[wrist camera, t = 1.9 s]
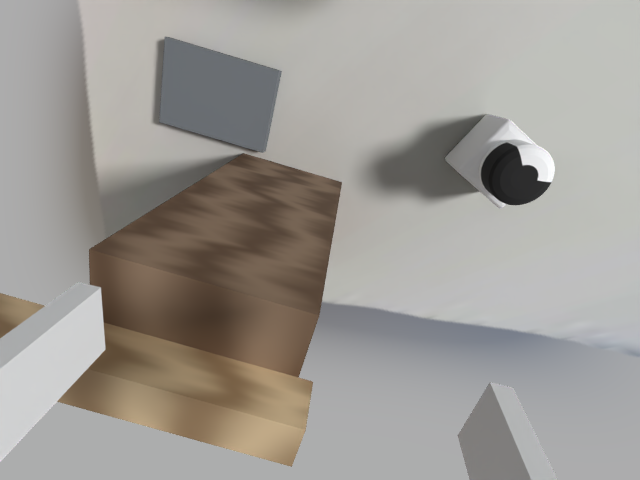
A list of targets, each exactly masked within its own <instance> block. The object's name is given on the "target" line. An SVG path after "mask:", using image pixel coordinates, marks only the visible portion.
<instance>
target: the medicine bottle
mask: <svg viewBox="0 0 640 480" xmlns="http://www.w3.org/2000/svg"><path fill="white" fill-rule="evenodd" d="M445 161H446V162H447V163H449V164H450V165H451V166H452V167H453V168H454V169H455V170H456V171H457V172H458V173H459V174H461V175H462V176H463V177H464V178H465V179H466V180H467V181H469V182H470V183H471V184H472V185H473V186H474V187H475V188H477V189H478V190H479V191H480V192H481V193H482V194H483V195H485V196H486V197H487V198H488V199H489V200H490V201H491V202H493V203H494V204H495V205H496V206H497V207H498V208H502V207H504V206H505V205H506V204H509V205H522V204H526V203H529V202H531V201H533V200H535V199H537V198H538V197H540V196H541V195H542V194H543V193H544V192H545V191H546V190H547V188H548V187H549V186H550V184H551V182H552V179H553V176H554V170H555V167H554V162H553V159H552V157H551V155H550V154H549V153H548V152H547V151H546V150H545V149H543V148H541V147H539V146H537V145H536V144H535V143H534V142H533V141H532V140H531V139H530V138H529V137H528V136H527V135H526V134H525V133H524V132H523V131H522V130H520V129H519V128H518V127H517V126H516V125H515V124H514V123H513V122H512V121H511V120H509V119H506V118H502V117H498V116H494V115H490V114H486V115H485V116H484V117H483V118H482V119H481V120H480V121H479V122H478V123H477V124H476V125H475V126H474V127H473V128H472V130H471V131H470V132H469V133H468V134H467V135H466V136H465V137H464V138H463V139H462V140H461V141H460V142H459V143H458V144H457V145H456V146H455V147H454V148H453V149H452V151H451V152H450V153H449V154H448V155H447V156H446V157H445Z"/></svg>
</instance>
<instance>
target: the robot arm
mask: <svg viewBox="0 0 640 480" xmlns="http://www.w3.org/2000/svg"><path fill="white" fill-rule="evenodd" d="M105 350H106V349H105V336H104V322H103V309H102V295H101V287H97V286H93V285H89V284H84V283H80V282H77V283H76V284H75V285H73V286H72V287H71V288H69V289H68V290H66V291H65V292H64V293H62V294H61V295H60V296H58V297H57V298H55V299H54V300H53V301H51V302H50V303H49V304H47V305H46V306H44V307H43V308H42V309H40V310H39V311H37V312H36V313H35V314H33V315H32V316H31V317H29V318H28V319H26V320H25V321H24V322H22V323H21V324H20V325H18V326H17V327H15V328H14V329H13V330H11V331H10V332H9V333H7V334H6V335H4V336H3V337H2V338H0V462H1V461H2V460H3V458H4V457H5V456H6V455H7V454H8V453H9V452H10V451H11V450H12V449H13V448H14V447H15V446H16V444H18V442H19V441H20V440H21V439H22V438H23V437H24V436H25V435H26V434H27V433H28V432H29V431H30V429H31V428H32V427H33V426H34V425H35V424H36V423H37V422H38V421H39V420H40V419H41V418H42V417H43V416H44V415H45V414H46V412H47V411H48V410H49V409H50V408H51V407H52V406H53V405H54V404H55V403H56V402H57V401H58V400H59V399H60V398H61V397H62V395H63V394H64V393H65V392H66V391H67V390H68V389H69V388H70V387H71V386H72V385H73V384H74V383H75V382H76V381H77V379H78V378H79V377H80V376H81V375H82V374H83V373H84V372H85V371H86V370H87V369H88V368H89V367H90V366H91V365H92V363H93V362H94V361H95V360H96V359H97V358H98V357H99V356H100V355H101V354H102V353H103V352H104V351H105ZM458 438H459V442H460V446H461V449H462V453H463V457H464V460H465V464H466V467H467V471H468V475H469V479H470V480H558V479H557V477H556V475H555V473H554V471H553V469H552V467H551V465H550V463H549V461H548V459H547V457H546V455H545V453H544V451H543V449H542V447H541V444H540V442H539V440H538V438H537V436H536V434H535V432H534V430H533V428H532V426H531V424H530V422H529V420H528V418H527V416H526V414H525V412H524V410H523V408H522V406H521V404H520V402H519V400H518V397H517V396H516V393H515V391H514V389H513V388H512V387H508V386H503V385H500V384H495V383H491V382H490V383H489V384H488V386H487V388H486V390H485V391H484V393H483V395H482V396H481V398H480V399H479V401H478V403H477V405H476V406H475V408H474V409H473V411H472V413H471V414H470V416H469V418H468V419H467V421H466V423H465V424H464V426H463V428H462V429H461V431H460V433H459V434H458Z"/></svg>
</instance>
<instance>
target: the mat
mask: <svg viewBox="0 0 640 480" xmlns="http://www.w3.org/2000/svg"><path fill="white" fill-rule="evenodd" d="M281 72H282V71H279V70H276V69H273V68H269V67H266V66H263V65H259V64H256V63H253V62H250V61H246V60H243V59H240V58H236V57H233V56H230V55H226V54H223V53H220V52H216V51H213V50H210V49H206V48H203V47H200V46H196V45H193V44H190V43H186V42H183V41H180V40H176V39H173V38H169V37H165V43H164V58H163V74H162V89H161V104H160V119H159V122H161V123H164V124H167V125H171V126H174V127H178V128H181V129H184V130H188V131H191V132H195V133H198V134H201V135H205V136H208V137H211V138H215V139H218V140H222V141H225V142H228V143H232V144H235V145H239V146H242V147H245V148H249V149H252V150H255V151H259V152H262V153H263V152H264V151H266V146H267V141H268V136H269V131H270V126H271V121H272V116H273V111H274V106H275V101H276V96H277V91H278V86H279V82H280V77H281Z"/></svg>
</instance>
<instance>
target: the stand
mask: <svg viewBox="0 0 640 480" xmlns="http://www.w3.org/2000/svg"><path fill="white" fill-rule="evenodd" d="M341 185H342V182H339V181H335V180H332V179H329V178H325V177H322V176H318V175H315V174H312V173H308V172H305V171H302V170H298V169H295V168H291V167H288V166H285V165H281V164H278V163H274V162H271V161H268V160H264V159H261V158H258V157H254V156H251V155H247V154H244V153H243V154H241V155H240V156H238V157H237V158H235V159H233V160H232V161H230V162H229V163H227V164H225V165H224V166H222V167H221V168H219V169H217V170H216V171H214V172H213V173H211V174H209V175H208V176H206V177H205V178H203V179H201V180H200V181H198V182H197V183H195V184H193V185H192V186H190V187H188V188H187V189H185V190H184V191H182V192H180V193H179V194H177V195H176V196H174V197H172V198H171V199H169V200H168V201H166V202H164V203H163V204H161V205H160V206H158V207H156V208H155V209H153V210H152V211H150V212H148V213H147V214H145V215H144V216H142V217H140V218H139V219H137V220H135V221H134V222H132V223H131V224H129V225H127V226H126V227H124V228H123V229H121V230H119V231H118V232H116V233H115V234H113V235H111V236H110V237H108V238H107V239H105V240H103V241H102V242H100V243H99V244H97V245H95V246H94V247H92V248H91V249H89V268H90V285H93V286H97V287H101V295H102V309H103V322H104V323H107V324H111V325H114V326H118V327H121V328H125V329H129V330H132V331H136V332H139V333H143V334H146V335H150V336H153V337H157V338H160V339H164V340H167V341H171V342H174V343H178V344H182V345H185V346H189V347H192V348H196V349H199V350H203V351H206V352H210V353H213V354H217V355H220V356H224V357H227V358H231V359H234V360H238V361H242V362H245V363H249V364H252V365H256V366H259V367H263V368H266V369H270V370H273V371H277V372H280V373H284V374H287V375H291V376H295V377H299V374H300V371H301V368H302V365H303V362H304V359H305V356H306V353H307V350H308V347H309V344H310V341H311V339H312V335H313V332H314V329H315V327H316V324H317V320H318V317H319V313H320V308H321V302H322V296H323V290H324V285H325V279H326V273H327V267H328V261H329V255H330V249H331V244H332V238H333V232H334V226H335V220H336V214H337V208H338V203H339V197H340V191H341Z"/></svg>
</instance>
